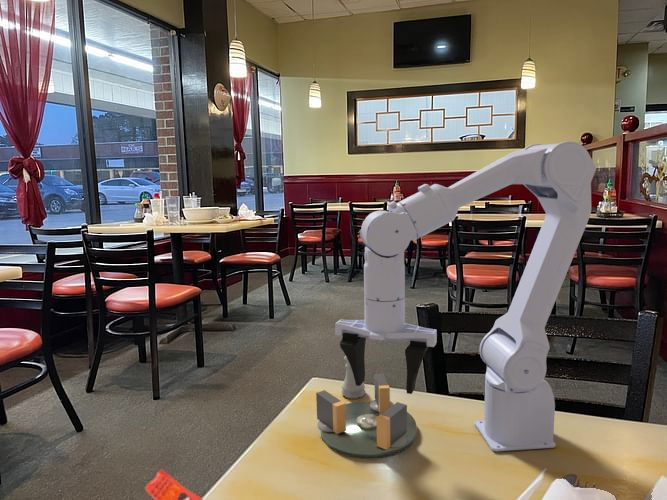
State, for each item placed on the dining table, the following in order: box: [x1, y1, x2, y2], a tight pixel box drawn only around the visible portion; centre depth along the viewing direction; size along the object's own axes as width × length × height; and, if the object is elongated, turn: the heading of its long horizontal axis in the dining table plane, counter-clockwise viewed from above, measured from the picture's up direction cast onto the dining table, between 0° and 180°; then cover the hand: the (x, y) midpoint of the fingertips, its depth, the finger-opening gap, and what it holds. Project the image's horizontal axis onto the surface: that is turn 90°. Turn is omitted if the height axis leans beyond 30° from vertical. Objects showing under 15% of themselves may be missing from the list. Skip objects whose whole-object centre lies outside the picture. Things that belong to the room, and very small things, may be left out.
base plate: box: [320, 401, 417, 460], centre depth 78 cm, size 15×15×2 cm
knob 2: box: [377, 401, 408, 450], centre depth 73 cm, size 6×4×5 cm
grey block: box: [370, 373, 395, 414], centre depth 83 cm, size 6×4×5 cm
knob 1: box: [315, 390, 346, 434], centre depth 77 cm, size 6×4×5 cm
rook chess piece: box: [340, 354, 366, 400], centre depth 91 cm, size 4×4×8 cm
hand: (384, 386), depth 72 cm, fingers open, 7 cm apart
